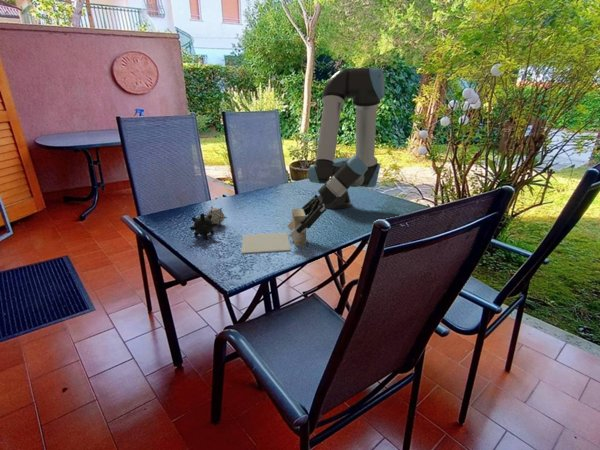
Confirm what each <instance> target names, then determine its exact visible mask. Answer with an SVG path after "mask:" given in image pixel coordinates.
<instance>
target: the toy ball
mask: <svg viewBox="0 0 600 450" xmlns="http://www.w3.org/2000/svg"><path fill="white" fill-rule="evenodd" d="M204 215H205V214H204V213H200V215H199V217H198V218H197V217H195V216H192V217H191V221H193V222H194V223H193V225H191V226H190V227H189V229H190V231H194V233H193V235H194V237H198V236H202V237H203V240H204V241H205V240H208V235H209V234H212V235H213V234H214V233H215V230H213V229H214V228H217V227H218V225H217V223H212V221H211V220H210V219H211V218H212V216H211V215H208V217H206V216H204Z"/></svg>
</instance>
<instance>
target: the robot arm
mask: <svg viewBox="0 0 600 450" xmlns="http://www.w3.org/2000/svg"><path fill="white" fill-rule="evenodd" d="M385 83H386V82H385V76H384V71H383V69H381V68H379V67H371V66H369V67H353V68H349V67H346V68H341V69H339V70H337V71H336V72H334V74H333V75H331V77H330V78H329V79H328V81H327V82H326V84H325V86H324V88H323V90H322V91H323V92H322V95H321V103H322V104H323V106H322V113H321V120H320V127H319V136H318V141H317V149H316V150H317V151H316V154H315V155H316V158H315V163H314V164H310V166H308V172H307V173H308V174H307V176H308V177H307V178H308V180H309V182H310V183H312V184H313V183H314V184H319V185H321V184H322V186H321V187H320V188H319V189H318V191H317V192H318V194H319V195H317V194H314V196H313V197H312V198H311V199H310V200H309V201H308V202H307V203H306V204H305V205H303V206H302V207H301V208H300V209H304V212H305V214H306V218H305V219H304V221H303V222H300V224H299V225H298V226H297V227H296V228H295V229H294V230H293V222H292V220H291V221H290V222H289V223H287V225H286V227H287V228H288V229H289V230H290V233H289V234H288V236H289V237H290V238H291V239H292V240H293V239H295V238H296V237H297V236H298V235H299V234H300V233H301V232H302V231H303V230H304V229H305V228H306V229H308V230H309V229H310V228H311V227H312V226H313V225H314V224H315V223H316V221H317V220H318V219H319V218H320V217H321V216H322V214H324V213H325V212H326V211H327V209H332V210H339V209H340V210H341V209H348V208H349V207H351V199H350V194H349V189H350V188H357V187H361V188H374V187H377V183H378V179H379V178H378V177H379V175H380V168H381V163H380V162H378V159H377V157H376V156H375V153H376V152H375V151H376V150H375V149H376V148H375V147H376V129H377V128H376V127H377V126H376V124H377V107H378V106H379V105H380V104H381V101H382V100H383V99H384V98H385V95H386V94H385V91H386V90H385V86H386V85H385ZM346 99H348V100H349V99H350V100H352V105H353V106H354V107H355V114H356V115H355V154H354V155H352V156H351V157H350V158H348V157H339V158H336V157H335V156H336V150H337V142H338V135H339V129H340V128H339V127H340V119H341V113H342V106H344V105H345V101H346Z"/></svg>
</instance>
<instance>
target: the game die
mask: <svg viewBox="0 0 600 450" xmlns="http://www.w3.org/2000/svg"><path fill="white" fill-rule="evenodd" d="M222 209H223V208H222V207H220V208H215V207H214V208H213V206H211V208H210V210H209V211H208V212H207V213H206V214H204V216H205V217H208V215H211V216H212V218H211V219H210V220H211V221H212V223H217V226H218V227H221V224H222V223H223V222H224V220H225V219H227V218H228V217H227V216H226V215H225V214H224V213H223V210H222Z"/></svg>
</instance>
